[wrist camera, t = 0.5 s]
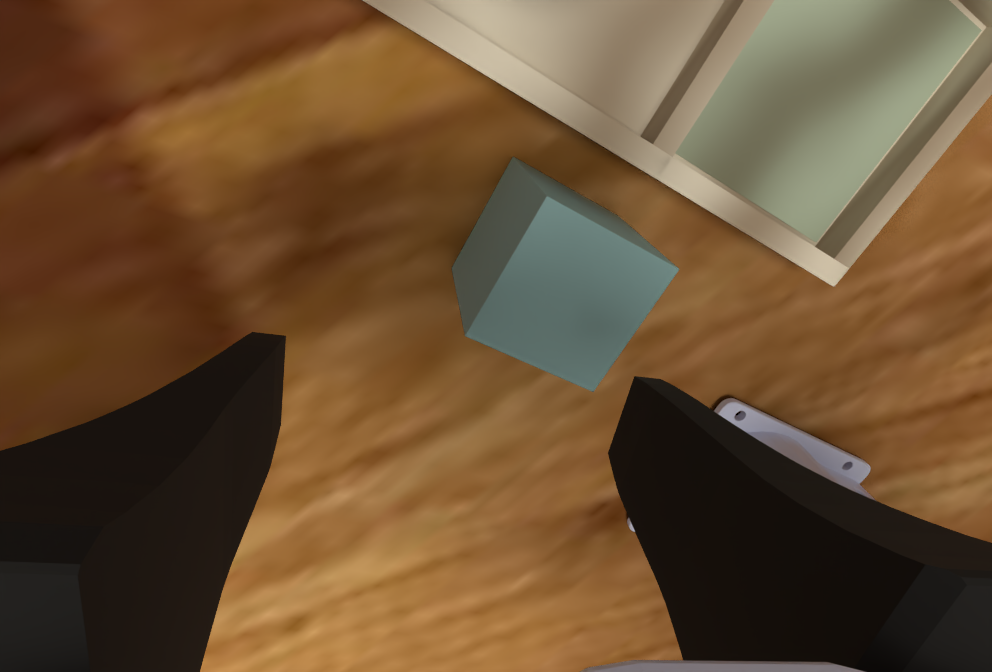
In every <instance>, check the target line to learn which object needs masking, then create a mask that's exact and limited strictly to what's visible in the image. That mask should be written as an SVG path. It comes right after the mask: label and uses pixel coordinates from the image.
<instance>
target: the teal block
mask: <svg viewBox="0 0 992 672" xmlns="http://www.w3.org/2000/svg"><path fill="white" fill-rule="evenodd" d="M678 271H679V268H677V267H676V266H675V265H674V264H673V263H672V262H671V261H669V260H668V259H667V258H666V257H665V256H664V255H663V254H661V253H660V252H659V251H658V250H657V249H656V248H655V247H653V246H652V245H651V244H650V243H649V242H648V241H646V240H645V239H644V238H643V237H642V236H641V235H640V234H638V233H637V232H636V231H635V230H634V229H633V228H632V227H630V226H629V225H628V224H627V223H626V222H625V221H624V220H622V219H621V218H620V217H619V216H617V215H616V214H614V213H612V212H610V211H609V210H607V209H605V208H603V207H602V206H600V205H598V204H596V203H595V202H593V201H591V200H589V199H587V198H586V197H584V196H582V195H580V194H579V193H577V192H575V191H573V190H572V189H570V188H568V187H566V186H564V185H563V184H561V183H559V182H557V181H556V180H554V179H552V178H550V177H549V176H547V175H545V174H543V173H542V172H540V171H538V170H536V169H534V168H533V167H531V166H529V165H527V164H526V163H524V162H522V161H520V160H519V159H517V158H515V157H512V159H511V161H510V163H509V164H508V166H507V168H506V170H505V172H504V174H503V175H502V177H501V179H500V181H499V183H498V184H497V186H496V188H495V190H494V192H493V194H492V195H491V197H490V199H489V201H488V203H487V205H486V206H485V208H484V210H483V212H482V214H481V215H480V217H479V219H478V221H477V223H476V225H475V226H474V228H473V230H472V232H471V234H470V236H469V237H468V239H467V241H466V243H465V245H464V246H463V248H462V250H461V252H460V254H459V256H458V257H457V259H456V261H455V263H454V265H453V267H452V273H453V278H454V283H455V288H456V293H457V298H458V303H459V308H460V313H461V318H462V323H463V328H464V333H465V336H466V337H468V338H471V339H473V340H475V341H477V342H480V343H482V344H484V345H487V346H489V347H491V348H493V349H496V350H498V351H500V352H503V353H505V354H507V355H510V356H512V357H514V358H516V359H519V360H521V361H523V362H526V363H528V364H530V365H532V366H535V367H537V368H539V369H542V370H544V371H546V372H549V373H551V374H553V375H555V376H558V377H560V378H562V379H565V380H567V381H569V382H571V383H574V384H576V385H578V386H581V387H583V388H585V389H588V390H590V391H592V392H594V390H595V389H596V387H597V386H598V385H599V383H600V382H601V380H602V379H603V377H604V376H605V375H606V373H607V372H608V370H609V369H610V367H611V366H612V365H613V363H614V362H615V360H616V359H617V357H618V356H619V355H620V353H621V352H622V350H623V349H624V348H625V346H626V345H627V343H628V342H629V340H630V339H631V338H632V336H633V335H634V333H635V332H636V330H637V329H638V328H639V326H640V325H641V323H642V322H643V320H644V319H645V318H646V316H647V315H648V313H649V312H650V310H651V309H652V308H653V306H654V305H655V303H656V302H657V301H658V299H659V298H660V296H661V295H662V293H663V292H664V291H665V289H666V288H667V286H668V285H669V283H670V282H671V281H672V279H673V278H674V276H675V275H676V273H677V272H678Z"/></svg>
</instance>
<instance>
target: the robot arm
mask: <svg viewBox="0 0 992 672" xmlns="http://www.w3.org/2000/svg"><path fill="white" fill-rule="evenodd" d="M285 342H286V336H282V335H273V334H264V333H256V332H252V333H250V334H248V335H247V336H245V337H244V338H242V339H241V340H239V341H238V342H236V343H235V344H233V345H232V346H230V347H229V348H227V349H226V350H224V351H223V352H221V353H220V354H218V355H216V356H215V357H213V358H212V359H210V360H209V361H207V362H205V363H204V364H202V365H201V366H199V367H198V368H196V369H194V370H193V371H191V372H189V373H188V374H186V375H184V376H182V377H180V378H179V379H177V380H175V381H173V382H171V383H170V384H168V385H166V386H164V387H162V388H161V389H159V390H157V391H155V392H153V393H152V394H150V395H148V396H146V397H144V398H142V399H140V400H138V401H135V402H133V403H131V404H129V405H127V406H125V407H123V408H120V409H118V410H116V411H113V412H111V413H109V414H106V415H104V416H102V417H99V418H97V419H94V420H92V421H89V422H87V423H84V424H81V425H78V426H75V427H72V428H70V429H67V430H64V431H61V432H58V433H55V434H52V435H49V436H46V437H44V438H41V439H38V440H35V441H32V442H29V443H26V444H22V445H19V446H16V447H12V448H9V449H5V450H2V451H0V672H200V669H201V665H202V662H203V658H204V654H205V650H206V647H207V643H208V639H209V636H210V632H211V629H212V625H213V622H214V618H215V615H216V611H217V608H218V604H219V601H220V597H221V593H222V590H223V587H224V584H225V581H226V578H227V575H228V573H229V570H230V567H231V564H232V562H233V559H234V557H235V554H236V552H237V549H238V547H239V544H240V542H241V539H242V537H243V534H244V532H245V529H246V527H247V524H248V522H249V519H250V517H251V515H252V512H253V510H254V507H255V505H256V502H257V500H258V497H259V495H260V492H261V490H262V487H263V484H264V482H265V479H266V477H267V474H268V472H269V469H270V466H271V462H272V458H273V454H274V450H275V446H276V442H277V438H278V434H279V430H280V426H281V412H282V394H283V377H284V359H285ZM739 411H741V412H740V414H738V415H736V416H735V414H736V413H738V412H739ZM608 455H609V459H610V463H611V467H612V471H613V475H614V479H615V482H616V486H617V489H618V493H619V495H620V498H621V500H622V502H623V505H624V507H625V509H626V512H627V514H628V516H629V517H628V519H627V523H628V526H629V528H630V530H632V531H633V532H635V533H636V535H637V537H638V539H639V542H640V544H641V546H642V548H643V551H644V553H645V555H646V557H647V560H648V562H649V564H650V566H651V569H652V571H653V573H654V575H655V578H656V580H657V582H658V585H659V587H660V590H661V592H662V595H663V598H664V600H665V603H666V606H667V609H668V612H669V615H670V618H671V622H672V625H673V628H674V631H675V634H676V637H677V641H678V644H679V647H680V650H681V654H682V657H683V661H675V660H631V661H625V662H619V663H613V664H607V665H601V666H595V667H589V668H586V669H584V670H582V671H580V672H992V543H990V542H987V541H983V540H980V539H977V538H973V537H970V536H967V535H964V534H961V533H958V532H955V531H953V530H950V529H947V528H944V527H941V526H939V525H936V524H933V523H930V522H927V521H925V520H922V519H919V518H917V517H914V516H912V515H909V514H906V513H904V512H901V511H899V510H896V509H894V508H891V507H889V506H887V505H884V504H882V503H880V502H877V501H876V500H875V499H874V498H873V497H872V496H871V495H870V494H869V493H868V492H867V491H866V490H865V489H864V488H863V487H862V486H861V485H860V483H861V482H862V481H863V480H864V479H865V478H866V477H867V475H868V474H869V473H870V469H871V468H870V466H869V465H868V464H867V463H866V462H865V461H864V460H862V459H860V458H858V457H856V456H854V455H852V454H850V453H848V452H845V451H843V450H841V449H839V448H837V447H835V446H833V445H831V444H829V443H827V442H824V441H822V440H820V439H818V438H816V437H814V436H812V435H810V434H808V433H806V432H804V431H801V430H799V429H797V428H795V427H793V426H791V425H789V424H787V423H785V422H783V421H780V420H778V419H776V418H774V417H772V416H770V415H768V414H766V413H764V412H762V411H760V410H757V409H755V408H753V407H751V406H749V405H747V404H745V403H743V402H741V401H739V400H736V399H734V398H728V399H725V400H723V401H722V402H721V403H720V404H719V405H718V406H717V407H716V409H715V410H714V411H713V410H711V409H710V408H708V407H707V406H705V405H704V404H702V403H701V402H699V401H698V400H696V399H694V398H693V397H691V396H690V395H688V394H687V393H685V392H683V391H682V390H680V389H678V388H677V387H675V386H673V385H671V384H669V383H667V382H665V381H663V380H661V379H654V378H645V377H636V376H635V377H634V379H633V382H632V385H631V388H630V391H629V394H628V397H627V400H626V403H625V406H624V408H623V411H622V414H621V417H620V420H619V423H618V426H617V429H616V432H615V434H614V437H613V440H612V443H611V446H610V449H609V452H608Z"/></svg>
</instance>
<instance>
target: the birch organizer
mask: <svg viewBox="0 0 992 672" xmlns="http://www.w3.org/2000/svg"><path fill="white" fill-rule="evenodd" d="M362 1H364V2H366V3H367V4H369V5H371V6H372V7H374V8H376V9H377V10H379V11H381V12H382V13H384V14H385V15H387V16H389V17H390V18H392V19H394V20H395V21H397V22H399V23H400V24H402V25H404V26H405V27H407V28H408V29H410V30H412V31H413V32H415V33H417V34H418V35H420V36H422V37H423V38H425V39H427V40H428V41H430V42H432V43H433V44H435V45H436V46H438V47H440V48H441V49H443V50H445V51H446V52H448V53H450V54H451V55H453V56H455V57H456V58H458V59H459V60H461V61H463V62H464V63H466V64H468V65H469V66H471V67H473V68H474V69H476V70H478V71H479V72H481V73H483V74H484V75H486V76H487V77H489V78H491V79H492V80H494V81H496V82H497V83H499V84H501V85H502V86H504V87H506V88H507V89H509V90H510V91H512V92H514V93H515V94H517V95H519V96H520V97H522V98H524V99H525V100H527V101H529V102H530V103H532V104H534V105H535V106H537V107H538V108H540V109H542V110H543V111H545V112H547V113H548V114H550V115H552V116H553V117H555V118H557V119H558V120H560V121H561V122H563V123H565V124H566V125H568V126H570V127H571V128H573V129H575V130H576V131H578V132H580V133H581V134H583V135H584V136H586V137H588V138H589V139H591V140H593V141H594V142H596V143H598V144H599V145H601V146H603V147H604V148H606V149H608V150H609V151H611V152H612V153H614V154H616V155H617V156H619V157H621V158H622V159H624V160H626V161H627V162H629V163H631V164H632V165H634V166H635V167H637V168H639V169H640V170H642V171H644V172H645V173H647V174H649V175H650V176H652V177H654V178H655V179H657V180H659V181H660V182H662V183H663V184H665V185H667V186H668V187H670V188H672V189H673V190H675V191H677V192H678V193H680V194H682V195H683V196H685V197H686V198H688V199H690V200H691V201H693V202H695V203H696V204H698V205H700V206H701V207H703V208H705V209H706V210H708V211H710V212H711V213H713V214H714V215H716V216H718V217H719V218H721V219H723V220H724V221H726V222H728V223H729V224H731V225H733V226H734V227H736V228H737V229H739V230H741V231H742V232H744V233H746V234H747V235H749V236H751V237H752V238H754V239H756V240H757V241H759V242H761V243H762V244H764V245H765V246H767V247H769V248H770V249H772V250H774V251H775V252H777V253H779V254H780V255H782V256H784V257H785V258H787V259H788V260H790V261H792V262H793V263H795V264H797V265H798V266H800V267H802V268H803V269H805V270H807V271H808V272H810V273H812V274H813V275H815V276H817V277H818V278H820V279H822V280H823V281H825V282H827V283H828V284H830V285H832V286H833V287H834V286H835V285H836V284H837V283H838V282H839V280H840V279H841V278H842V277H843V275H844V274H845V273H846V272H847V271H848V269H849V268H850V267H851V266H852V264H853V263H854V262H855V261H856V260H857V258H858V257H859V256H860V255H861V253H862V252H863V251H864V250H865V249H866V247H867V246H868V245H869V244H870V242H871V241H872V240H873V239H874V237H875V236H876V235H877V234H878V233H879V231H880V230H881V229H882V228H883V226H884V225H885V224H886V223H887V222H888V220H889V219H890V218H891V217H892V215H893V214H894V213H895V212H896V211H897V209H898V208H899V207H900V206H901V204H902V203H903V202H904V201H905V200H906V198H907V197H908V196H909V195H910V193H911V192H912V191H913V190H914V188H915V187H916V186H917V185H918V184H919V182H920V181H921V180H922V179H923V177H924V176H925V175H926V174H927V173H928V171H929V170H930V169H931V168H932V166H933V165H934V164H935V163H936V162H937V160H938V159H939V158H940V157H941V155H942V154H943V153H944V152H945V151H946V149H947V148H948V147H949V146H950V144H951V143H952V142H953V141H954V140H955V138H956V137H957V136H958V135H959V133H960V132H961V131H962V130H963V128H964V127H965V126H966V125H967V124H968V122H969V121H970V120H971V119H972V117H973V116H974V115H975V114H976V113H977V111H978V110H979V109H980V108H981V106H982V105H983V104H984V103H985V102H986V100H987V99H988V98H989V97H990V95H991V94H992V0H362Z"/></svg>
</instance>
